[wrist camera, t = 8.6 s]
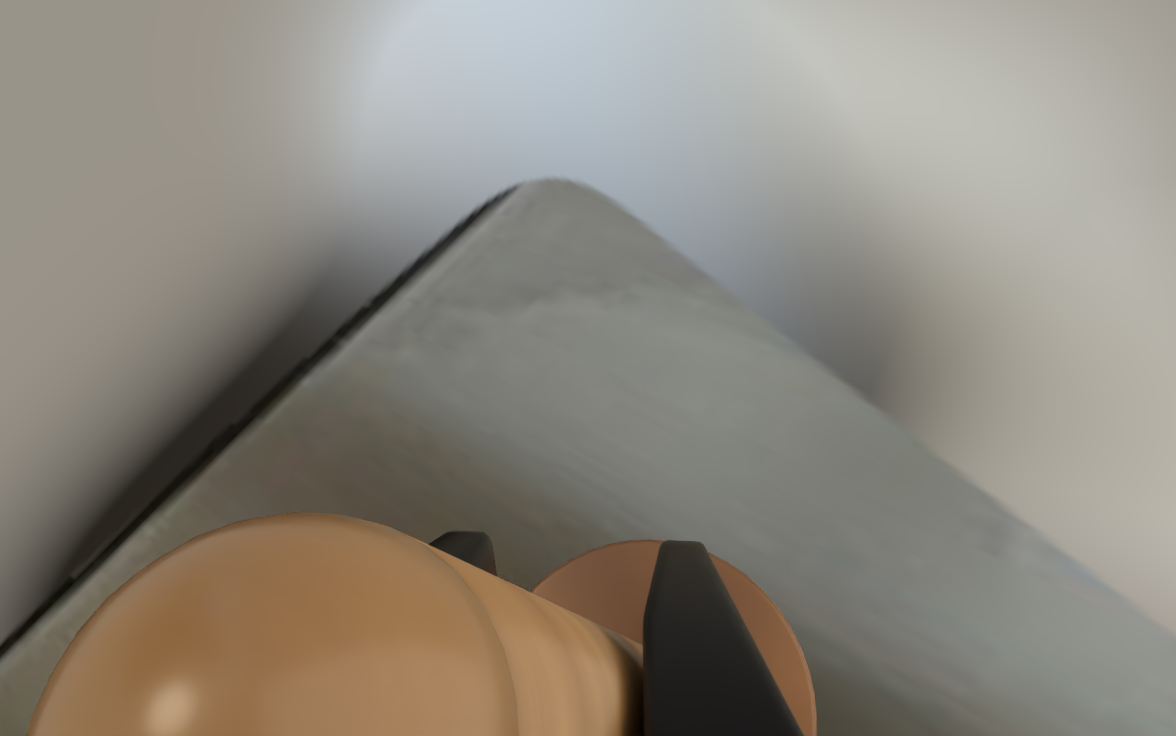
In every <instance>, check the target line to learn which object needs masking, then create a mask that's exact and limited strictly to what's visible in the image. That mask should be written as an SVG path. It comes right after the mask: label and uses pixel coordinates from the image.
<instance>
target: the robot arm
mask: <svg viewBox="0 0 1176 736" xmlns="http://www.w3.org/2000/svg"><path fill="white" fill-rule="evenodd" d="M428 545H430V546H432V547H434V548H437V549H439V550H441V551H443V552H445V553H447V554H449V555H452V556H454V557H456V558H458V559H460V560H462V561H464V562H467V563H469V564H471V565H473V566H475V567H477V568H479V569H481V570H484V571H486V572H488V573H490V574H492V575H494V576H496V577H497V574H496V567H495V560H494V553H493V546H492V542H491V540H490V537H489V536H488V535H487V534H486V533H485V532H478V531H458V530H453V531H449V532H447V533H445V534H443V535H442V536H440V537H439V538H437V539H436V540H434V541H433V542H431V543H430V544H428ZM642 638H643V704H644V736H804V734H803V732H802V730H801V728H800V727H799V725H798V723H797V721H796V719H795V717H794V715H793V713H792V711H791V709H790V708H789V706H788V704H787V702H786V700H785V698H784V696H783V694H782V692H781V690H780V689H779V687H778V685H777V683H776V681H775V679H774V677H773V675H772V673H771V671H770V670H769V668H768V666H767V664H766V662H765V660H764V658H763V656H762V654H761V652H760V651H759V649H758V647H757V645H756V643H755V641H754V639H753V637H752V635H751V633H750V632H749V630H748V628H747V626H746V624H745V622H744V620H743V618H742V616H741V614H740V613H739V611H738V609H737V607H736V605H735V603H734V601H733V599H732V597H731V595H730V594H729V592H728V590H727V588H726V586H725V584H724V582H723V580H722V578H721V576H720V575H719V573H718V571H717V569H716V567H715V565H714V563H713V561H712V559H711V557H710V556H709V554H708V552H707V550H706V548H705V546H704V545H703V544H702V543H700V542H696V541H673V540H667V541H664V542H662V543H661V545H660V547H659V551H658V556H657V560H656V564H655V568H654V572H653V576H652V581H651V585H650V589H649V593H648V597H647V601H646V606H645V611H644V617H643V632H642Z"/></svg>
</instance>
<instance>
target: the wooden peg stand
mask: <svg viewBox="0 0 1176 736" xmlns="http://www.w3.org/2000/svg"><path fill="white" fill-rule="evenodd" d="M662 542H664V541H660V540H629V541H623V542H618V543H612V544H608V545H604V546H601V547H598V548H595V549H592V550H589V551H587V552H585V553H583V554H581V555H578V556H576V557H574V558H572V559H570V560H569V561H567V562H566V563H564V564H563V565H561V566H559V567H558V568H556V569H555V570H554V571H552V572H551V573H550V574H549V575H548V576H546V577H545V578H544V579H543V580H542V581H540V582H539V583H538V584H537V585H536V586H535V587H534V589H533V590H532V591H531V592H529V591H526V590H524V589H522V588H520V587H518V586H516V585H514V584H511V583H509V582H507V581H505V580H503V579H501V578H499V577H496V576H494V575H492V574H490V573H488V572H486V571H484V570H481V569H479V568H477V567H475V566H473V565H471V564H469V563H467V562H464V561H462V560H460V559H458V558H456V557H454V556H452V555H449V554H447V553H445V552H443V551H441V550H439V549H437V548H434V547H432V546H430V545H428V544H426V543H424V542H422V541H419V540H417V539H415V538H413V537H411V536H409V535H407V534H404V533H402V532H399V531H397V530H395V529H393V528H390V527H387V526H385V525H382V524H379V523H375V522H370V521H366V520H362V519H358V518H353V517H349V516H344V515H339V514H328V513H310V512H292V513H286V514H279V515H273V516H266V517H260V518H254V519H249V520H244V521H239V522H234V523H232V524H229V525H226V526H223V527H220V528H218V529H215V530H212V531H209V532H207V533H204V534H201V535H198V536H196V537H194V538H192V539H191V540H189V541H187V542H186V543H184V544H182V545H180V546H179V547H177V548H175V549H174V550H172V551H170V552H168V553H167V554H165V555H163V556H161V557H160V558H158V559H157V560H155V561H154V562H152V563H151V564H149V565H147V566H146V567H144V568H143V569H141V570H140V571H139V572H138V573H136V574H135V575H134V576H133V577H132V578H130V579H129V580H128V581H127V582H126V583H124V584H123V585H122V586H121V587H120V588H118V589H117V590H116V591H115V592H114V593H112V594H111V595H110V596H109V597H108V598H107V599H106V600H105V601H104V602H103V603H102V605H101V606H100V607H99V608H98V609H97V610H96V611H95V612H94V614H93V615H92V616H91V617H90V618H89V619H88V620H87V622H86V623H85V624H84V625H83V626H82V627H81V628H80V630H79V631H78V632H77V634H76V636H75V637H74V639H73V640H72V642H71V643H70V645H69V646H68V648H67V650H66V651H65V653H64V654H63V656H62V657H61V659H60V660H59V662H58V664H57V665H56V667H55V668H54V670H53V672H52V674H51V676H50V678H49V680H48V682H47V685H46V687H45V689H44V691H43V693H42V696H41V698H40V700H39V702H38V704H37V707H36V709H35V711H34V713H33V715H32V718H31V721H30V724H29V728H28V731H27V735H26V736H644V704H643V638H642V632H643V617H644V611H645V606H646V601H647V597H648V593H649V589H650V585H651V581H652V576H653V572H654V568H655V564H656V560H657V556H658V551H659V547H660V545H661V543H662ZM708 554H709V556H710V557H711V559H712V561H713V563H714V565H715V567H716V569H717V571H718V573H719V575H720V576H721V578H722V580H723V582H724V584H725V586H726V588H727V590H728V592H729V594H730V595H731V597H732V599H733V601H734V603H735V605H736V607H737V609H738V611H739V613H740V614H741V616H742V618H743V620H744V622H745V624H746V626H747V628H748V630H749V632H750V633H751V635H752V637H753V639H754V641H755V643H756V645H757V647H758V649H759V651H760V652H761V654H762V656H763V658H764V660H765V662H766V664H767V666H768V668H769V670H770V671H771V673H772V675H773V677H774V679H775V681H776V683H777V685H778V687H779V689H780V690H781V692H782V694H783V696H784V698H785V700H786V702H787V704H788V706H789V708H790V709H791V711H792V713H793V715H794V717H795V719H796V721H797V723H798V725H799V727H800V728H801V730H802V732H803V734H804V736H817V712H816V703H815V693H814V689H813V684H812V680H811V675H810V671H809V668H808V665H807V662H806V659H805V657H804V654H803V651H802V648H801V646H800V644H799V642H798V640H797V638H796V636H795V634H794V632H793V630H792V628H791V626H790V625H789V623H788V622H787V620H786V619H785V617H784V616H783V614H782V613H781V611H780V610H779V608H778V607H777V606H776V605H775V604H774V602H773V601H772V600H771V599H770V598H769V597H768V595H767V594H766V593H765V592H764V591H763V590H762V589H761V588H760V587H759V586H758V585H757V584H755V583H754V582H753V581H752V580H751V579H750V578H749V577H748V576H747V575H745V574H744V573H742V572H741V571H739V570H738V569H737V568H735V567H734V566H732V565H731V564H729V563H728V562H726V561H724V560H722V559H720V558H718V557H716V556H714V555H712V554H710V553H708Z"/></svg>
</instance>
